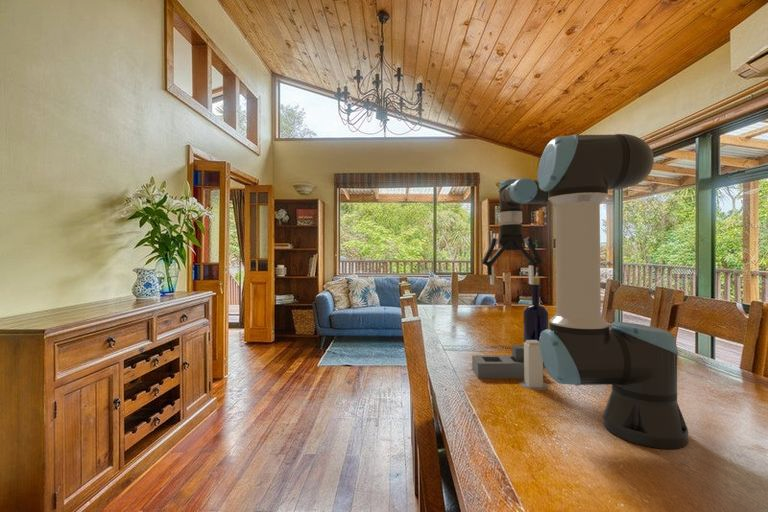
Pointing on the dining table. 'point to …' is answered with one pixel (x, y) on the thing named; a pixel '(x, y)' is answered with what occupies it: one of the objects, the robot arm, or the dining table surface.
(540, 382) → the plug
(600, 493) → the dining table surface
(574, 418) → the dining table surface
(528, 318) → the bottle
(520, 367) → the strip
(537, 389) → the coaster
